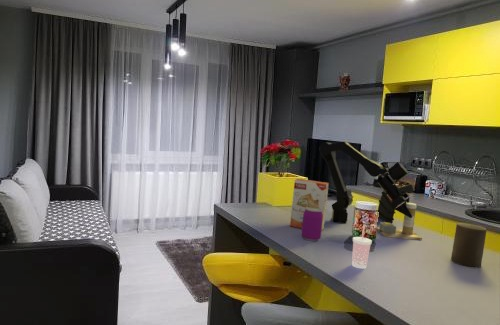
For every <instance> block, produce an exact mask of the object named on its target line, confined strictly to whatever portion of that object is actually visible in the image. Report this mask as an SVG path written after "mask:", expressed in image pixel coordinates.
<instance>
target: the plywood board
mask: <svg viewBox="0 0 500 325" xmlns="http://www.w3.org/2000/svg"><path fill="white" fill-rule="evenodd" d="M379 228H380V226H377V227H376V230H377V231H378V232H379V233H380V235H382V236H383V237H384V238H385V237H386V238H394V239H407V240H416V241H422V240H423V237H422V236H420V235H418V234H417V232H415V231H413V234H405V233H403V232H402V230H403V228H402V229H401V228H396V233H395V234H391V233H384V232H382V231H381V230H380V229H379Z"/></svg>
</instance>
